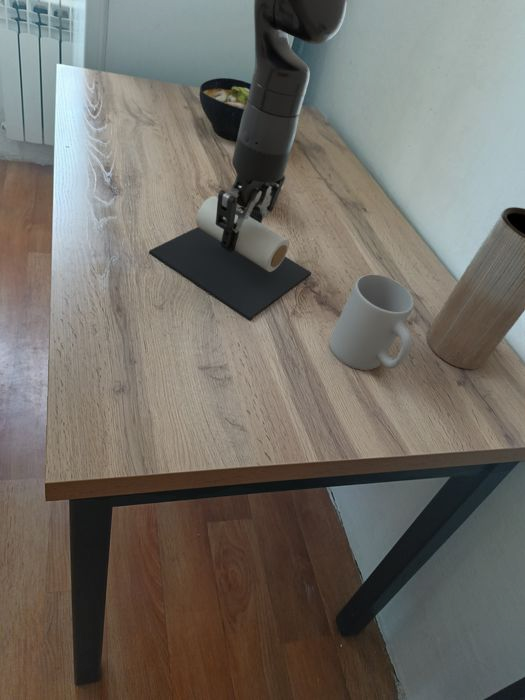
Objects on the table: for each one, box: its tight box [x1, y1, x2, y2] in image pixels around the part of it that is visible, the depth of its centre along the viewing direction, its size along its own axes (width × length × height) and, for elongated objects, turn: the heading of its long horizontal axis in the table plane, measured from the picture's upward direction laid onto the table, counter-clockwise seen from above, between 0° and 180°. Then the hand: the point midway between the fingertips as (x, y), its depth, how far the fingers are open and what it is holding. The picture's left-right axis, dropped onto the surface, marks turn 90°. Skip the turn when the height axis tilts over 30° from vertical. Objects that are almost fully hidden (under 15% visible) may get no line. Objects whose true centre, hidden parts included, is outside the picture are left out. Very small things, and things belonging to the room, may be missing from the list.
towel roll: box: [195, 195, 290, 272], centre depth 83 cm, size 6×14×6 cm, turn 55°
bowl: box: [199, 77, 251, 142], centre depth 121 cm, size 17×17×10 cm
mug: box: [328, 273, 415, 371], centre depth 75 cm, size 12×8×11 cm
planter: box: [426, 206, 525, 370], centre depth 79 cm, size 10×10×23 cm
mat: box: [148, 226, 312, 321], centre depth 87 cm, size 20×18×1 cm
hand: (239, 241), depth 84 cm, fingers closed on towel roll, 5 cm apart
